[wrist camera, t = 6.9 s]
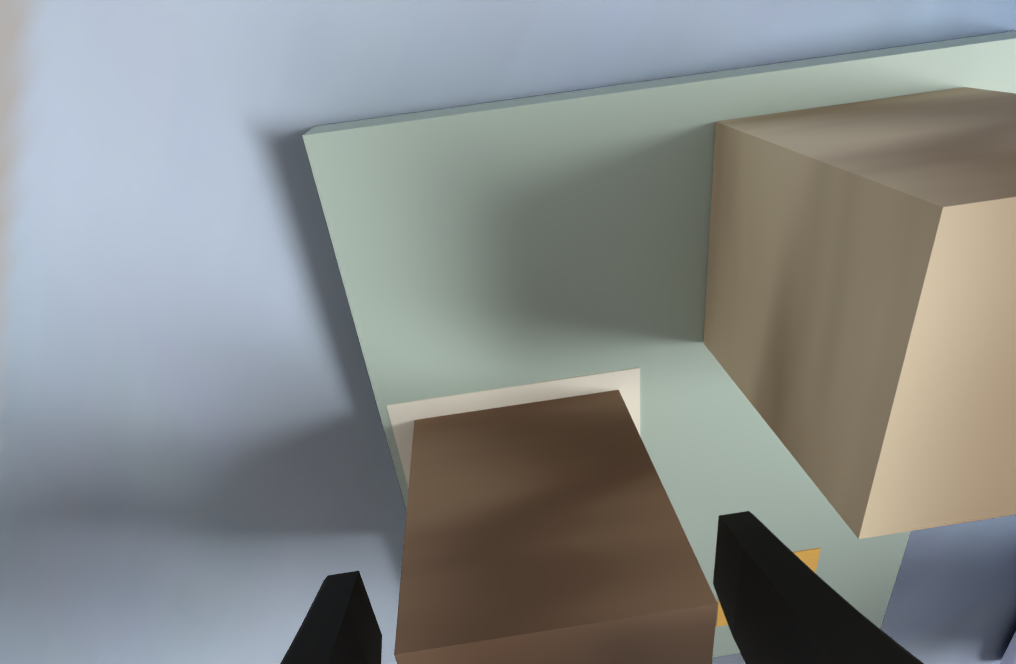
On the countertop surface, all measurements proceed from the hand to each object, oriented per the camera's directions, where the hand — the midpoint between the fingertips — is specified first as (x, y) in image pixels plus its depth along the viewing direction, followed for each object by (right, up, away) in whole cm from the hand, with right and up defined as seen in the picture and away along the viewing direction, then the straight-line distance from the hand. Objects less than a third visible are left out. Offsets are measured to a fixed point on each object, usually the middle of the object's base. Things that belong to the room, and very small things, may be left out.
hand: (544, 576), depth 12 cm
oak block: (+6, +7, 0) cm, 9 cm away
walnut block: (0, +1, +2) cm, 3 cm away
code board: (+3, +2, +3) cm, 5 cm away
